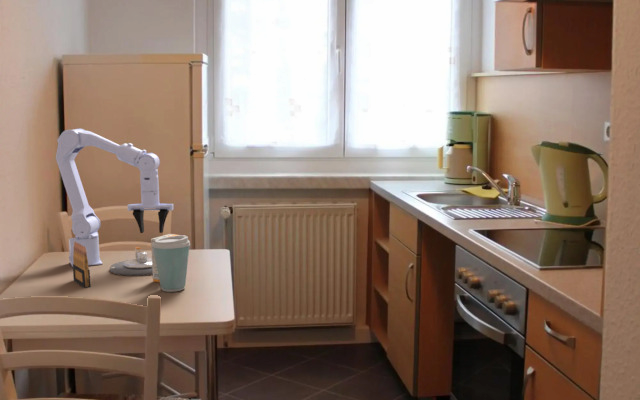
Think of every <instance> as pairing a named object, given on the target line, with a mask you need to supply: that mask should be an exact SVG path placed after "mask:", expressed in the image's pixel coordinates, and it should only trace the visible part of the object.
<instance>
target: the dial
mask: <svg viewBox="0 0 640 400" xmlns="http://www.w3.org/2000/svg"><path fill="white" fill-rule="evenodd" d="M134 250H135V251H134V252H135V254H134V255H135V258H133V259H127V260H128V261H126V260H124V261H125V262H124V263H123V266H124V267H125V268H130V269H146V268H152V257H148V252H147V251H144V250H143V249H142V248H141V247H140V246H139V247H137V246H136V247H134ZM136 258H137V259H136Z"/></svg>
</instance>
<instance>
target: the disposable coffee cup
mask: <svg viewBox="0 0 640 400" xmlns="http://www.w3.org/2000/svg"><path fill="white" fill-rule="evenodd" d="M177 235H178V236H170V237H164V238H160V239H157V240H155V241H154V243H153V246H152V247H153V249H154V255H155V260H156V265H157V270H158V275H159V280H160V282H159V284H160V288H161V290H162V291H163V292H166V293H167V292H169V293H172V292H180V291H184V290H185V287H186V281H187V274H188V263H189V255H190V247H191V242H190V241H191V240H189V236H187V235H183V234H182V235H181V234H177ZM183 289H184V290H183Z"/></svg>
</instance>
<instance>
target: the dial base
mask: <svg viewBox="0 0 640 400" xmlns="http://www.w3.org/2000/svg"><path fill="white" fill-rule="evenodd" d="M135 259H137V258H136V257H135ZM128 260H129V259H126V260H123V261H118V262H115V263H114V264H112V265H110V267H109V268H110V272H111V273H112V274H115V275H119V276H127V277H128V276H129V277H138V276H139V277H141V276H153V269H152V268H146V269H130V268H125V267H124V266H123V263H124V262H125V261H128Z"/></svg>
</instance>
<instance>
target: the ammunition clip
mask: <svg viewBox="0 0 640 400" xmlns="http://www.w3.org/2000/svg"><path fill="white" fill-rule="evenodd" d="M73 261H74V264H73V267H72V273H73V275H72V276H73V277H72V278H73V282H75V283H76V284H78V285H79V286H81V287H82V288H84V289H86V288H91V287H92V284H91V273H90V272H91V271H90V269H89V265H88V259H87V251H86V248H85V246H84V247H83V245H81V244H79V243H76V241H75V242H74V254H73Z"/></svg>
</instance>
